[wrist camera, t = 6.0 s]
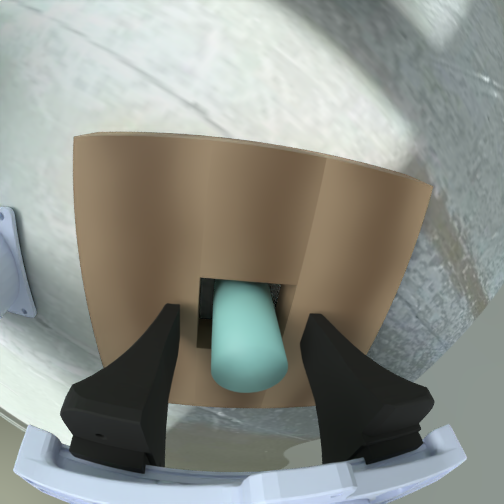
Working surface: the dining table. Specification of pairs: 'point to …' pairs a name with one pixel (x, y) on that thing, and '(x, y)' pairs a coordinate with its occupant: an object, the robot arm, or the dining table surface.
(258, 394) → the socket board
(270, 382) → the peg
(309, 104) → the dining table surface
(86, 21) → the dining table surface
